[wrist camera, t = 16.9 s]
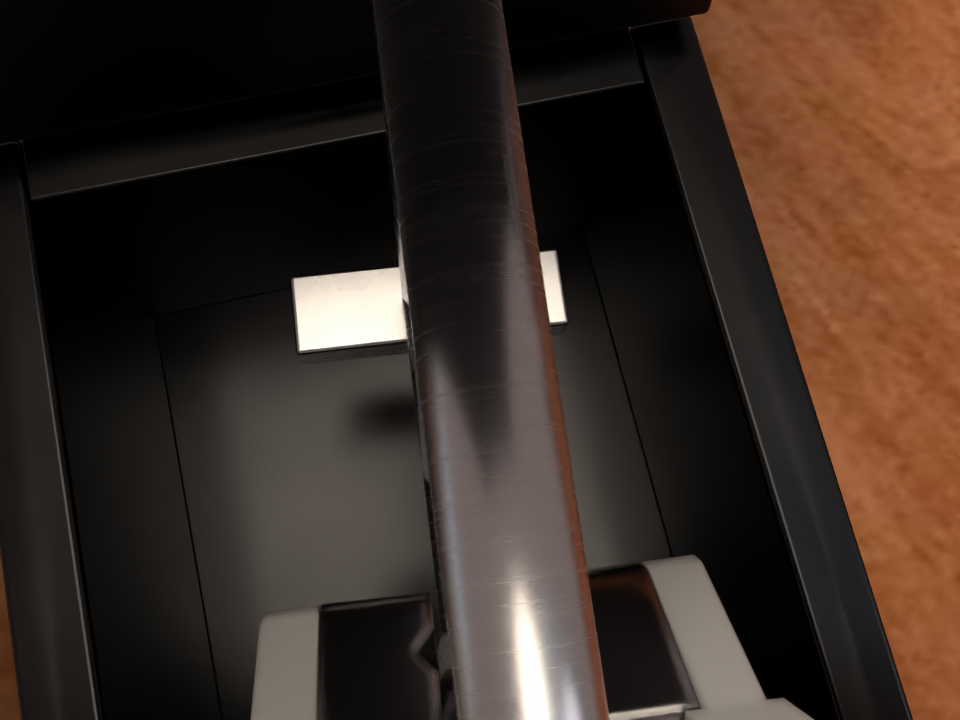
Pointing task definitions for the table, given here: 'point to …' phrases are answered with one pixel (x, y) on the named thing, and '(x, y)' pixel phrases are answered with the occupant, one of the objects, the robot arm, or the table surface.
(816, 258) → the table surface
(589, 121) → the oven
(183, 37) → the oven door
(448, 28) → the rack
